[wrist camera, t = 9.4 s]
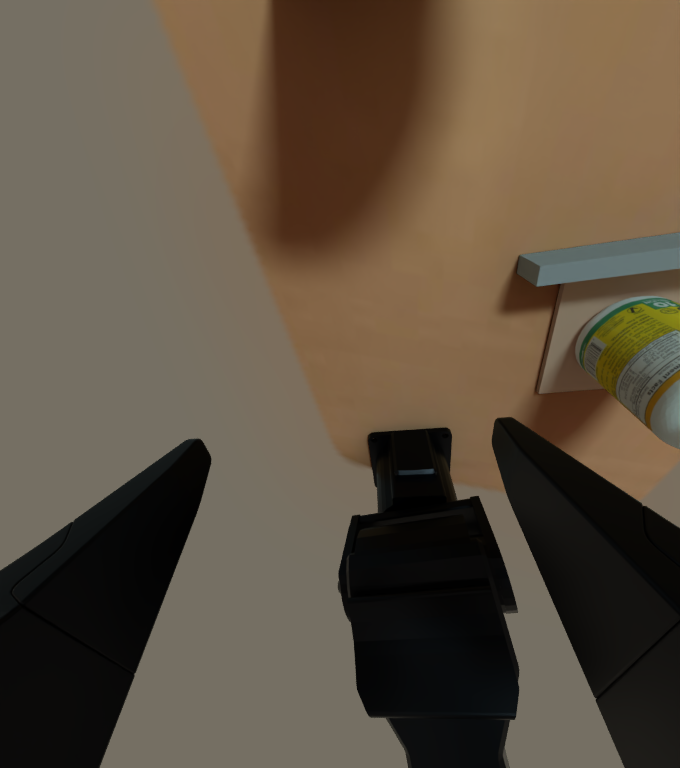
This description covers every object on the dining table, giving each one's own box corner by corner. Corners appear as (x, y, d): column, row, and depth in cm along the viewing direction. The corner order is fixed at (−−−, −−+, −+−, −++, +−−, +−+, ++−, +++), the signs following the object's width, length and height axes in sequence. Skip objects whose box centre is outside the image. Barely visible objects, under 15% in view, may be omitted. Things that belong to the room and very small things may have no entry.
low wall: (789, 237, 16) (852, 246, 14) (516, 273, 18) (536, 286, 16) (802, 215, 15) (869, 221, 13) (519, 254, 17) (540, 266, 15)
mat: (664, 380, 21) (669, 383, 20) (536, 390, 22) (538, 393, 22) (726, 254, 16) (734, 256, 16) (562, 276, 18) (566, 278, 17)
